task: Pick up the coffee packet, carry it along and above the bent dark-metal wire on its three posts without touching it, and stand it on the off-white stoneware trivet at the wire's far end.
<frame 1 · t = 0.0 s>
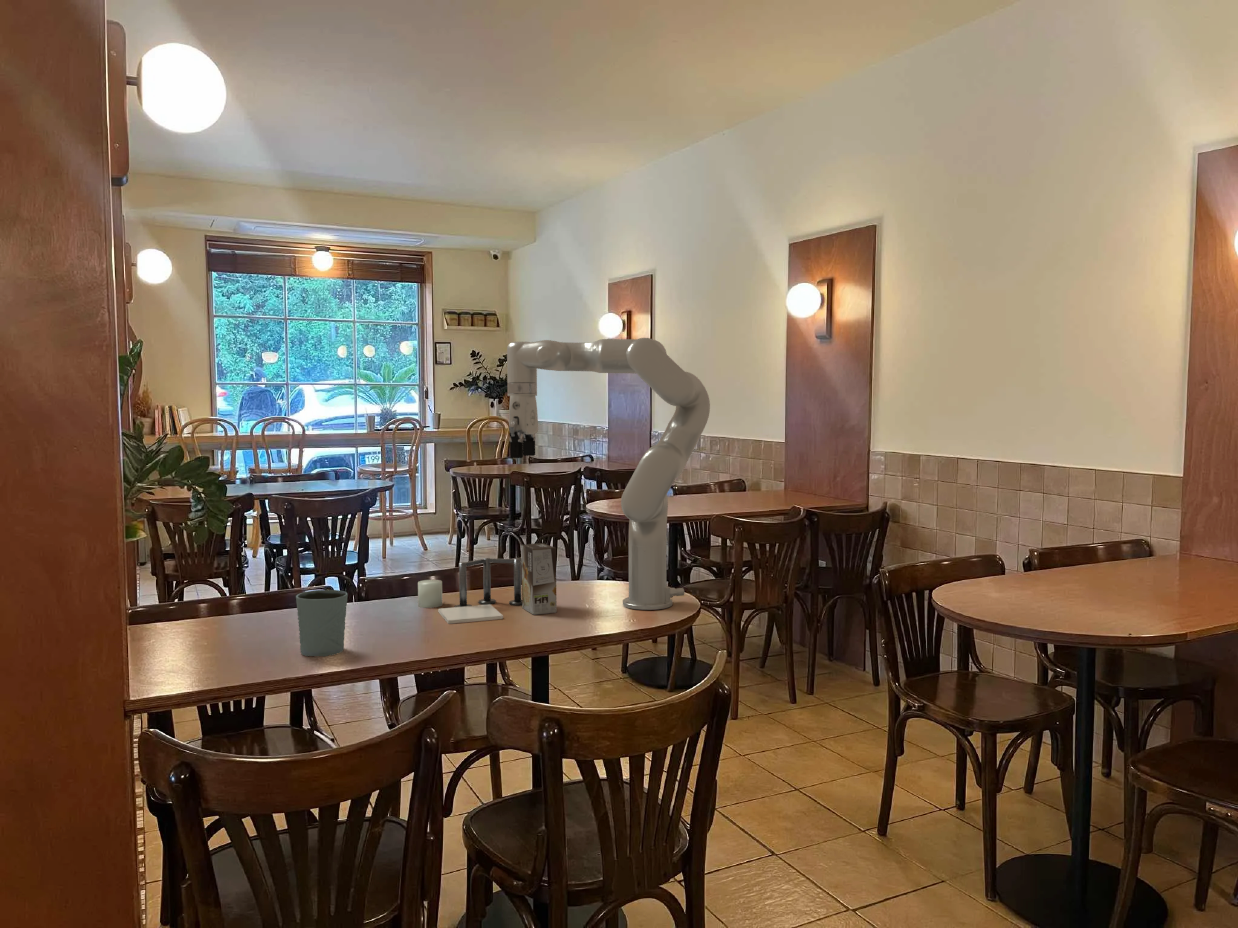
hand: (523, 456, 238), 37 cm above the table, tool pointing down, fingers open, 9 cm apart
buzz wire: (492, 607, 231), on the table
pale green pillar candle: (430, 605, 234), on the table
coffee box: (539, 611, 228), on the table
trivet: (470, 615, 223), on the table
green tapered pot: (323, 651, 192), on the table
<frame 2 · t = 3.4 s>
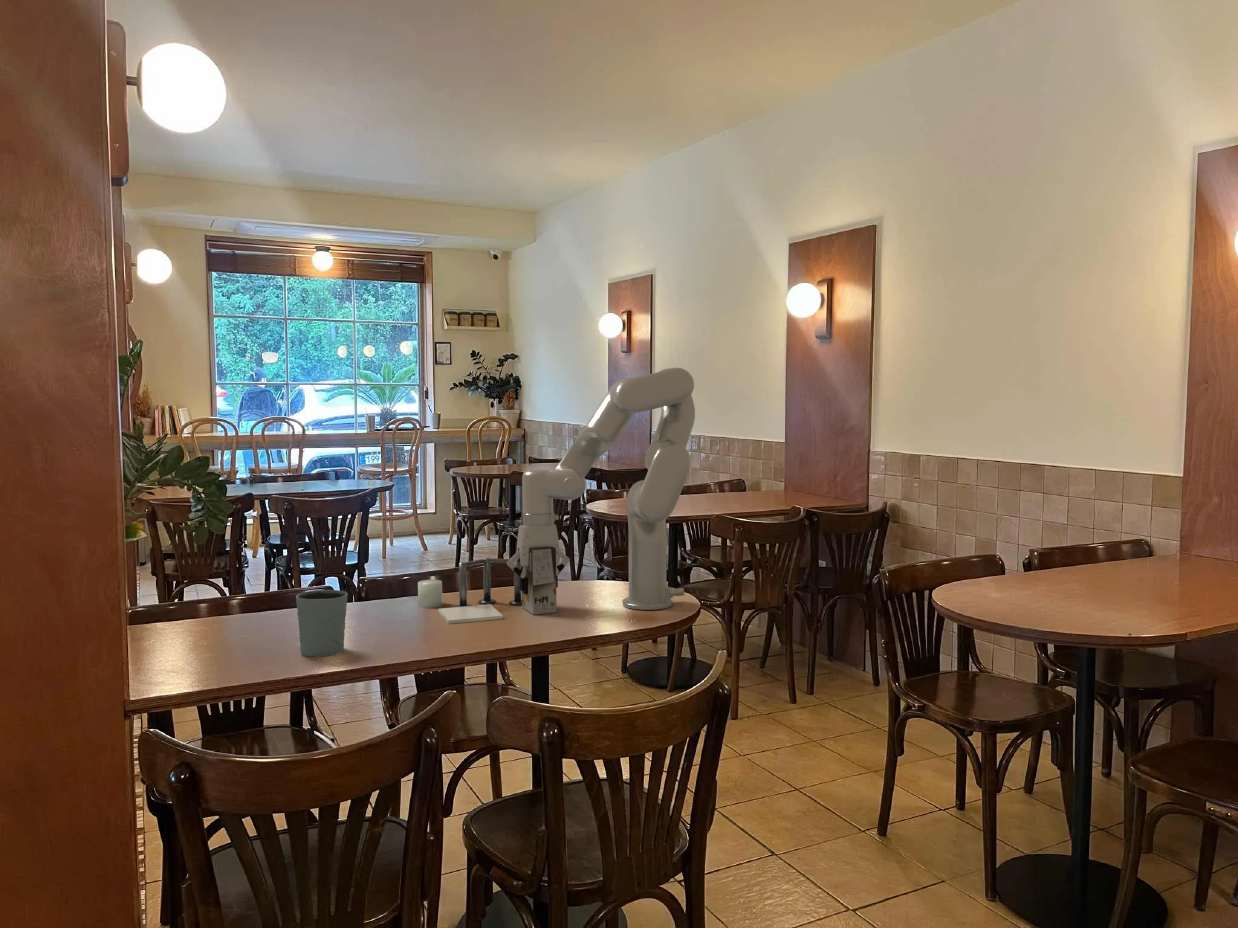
hand: (538, 591, 228), 5 cm above the table, tool pointing down, fingers closed on coffee box, 6 cm apart
coffee box: (539, 610, 228), on the table, touching gripper
everything else where it was.
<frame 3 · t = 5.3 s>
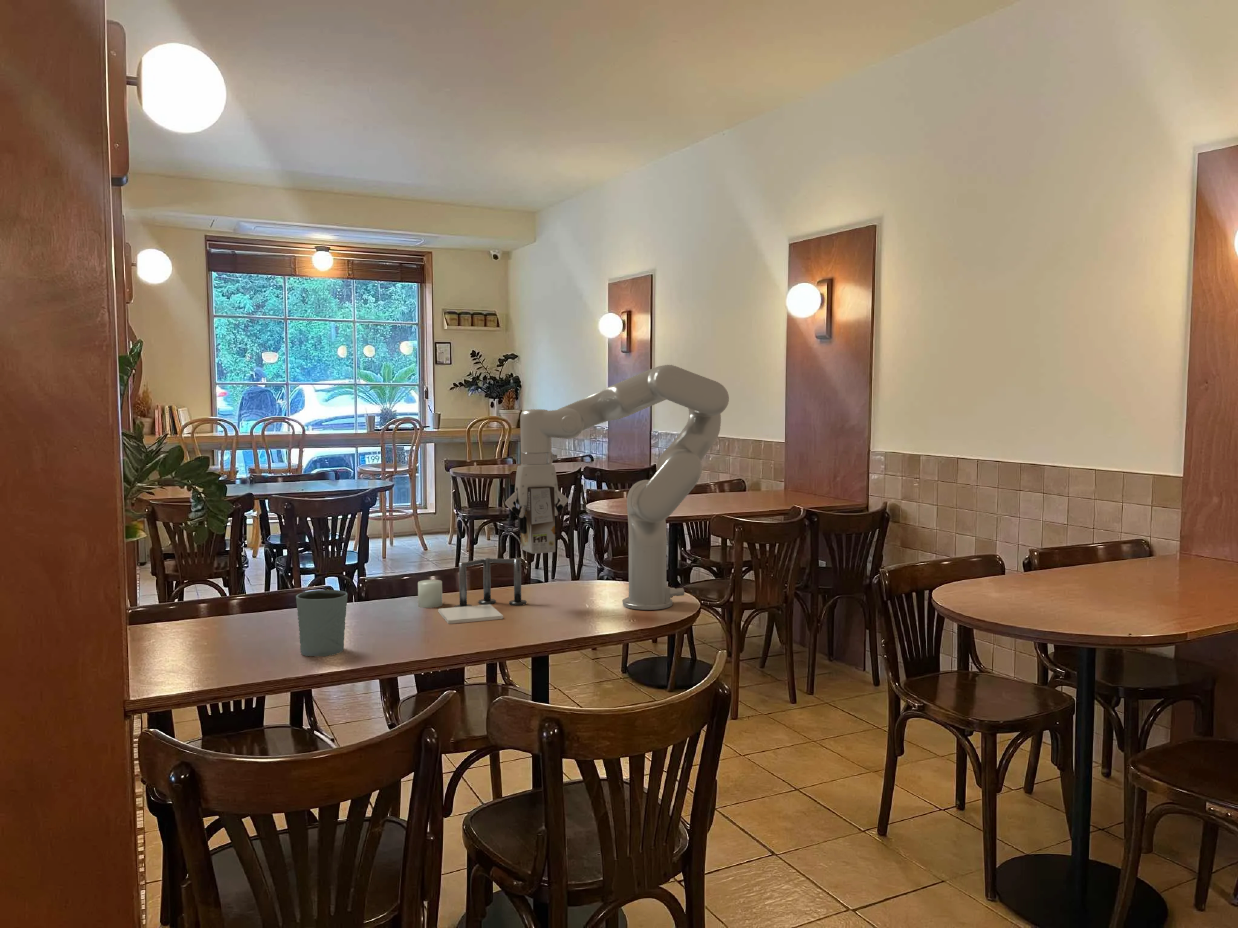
hand: (537, 531, 227), 20 cm above the table, tool pointing down, fingers closed on coffee box, 6 cm apart
coffee box: (537, 551, 227), point 15 cm above the table, touching gripper
everything else where it was.
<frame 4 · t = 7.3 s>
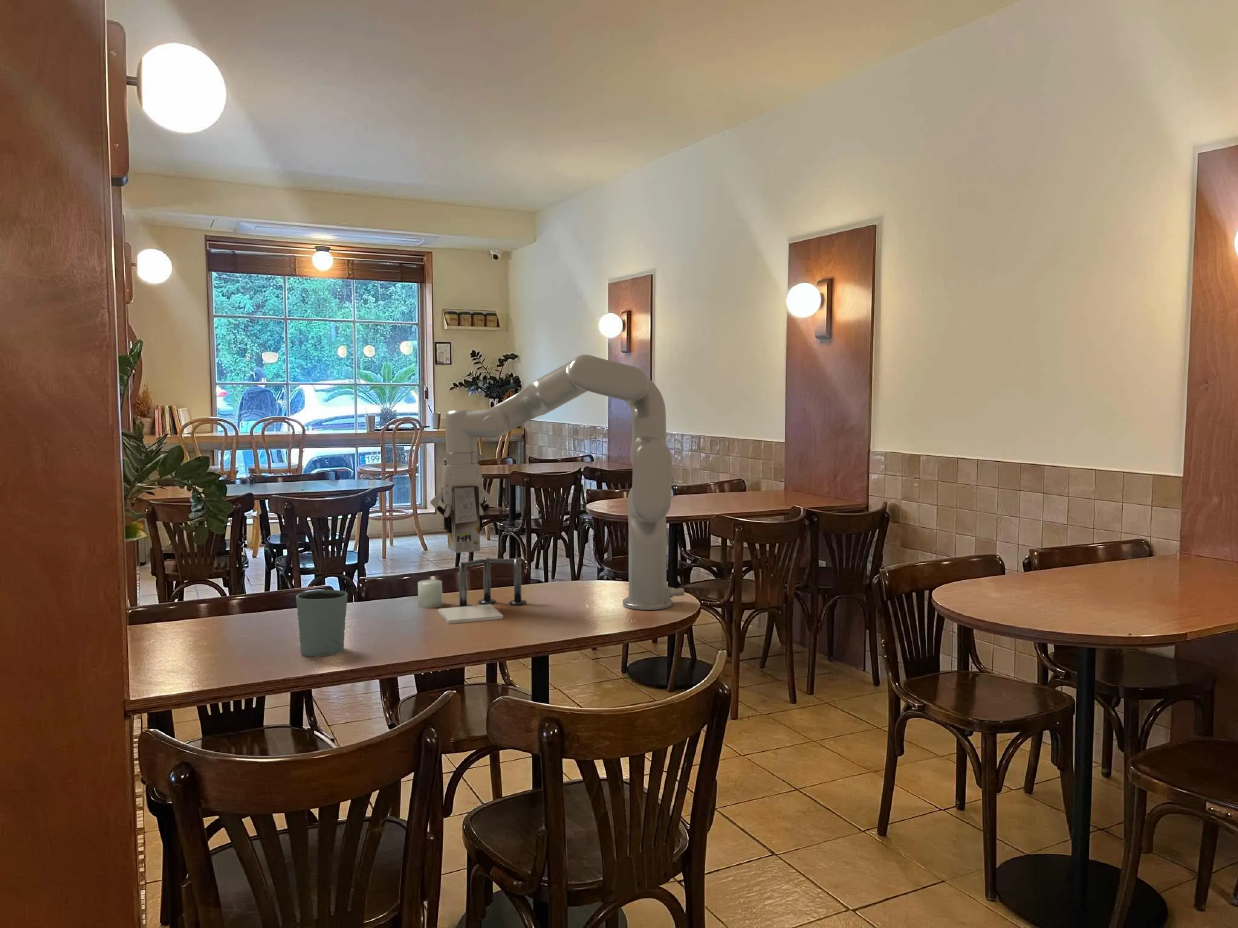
hand: (463, 531, 229), 20 cm above the table, tool pointing down, fingers closed on coffee box, 6 cm apart
coffee box: (463, 550, 229), point 15 cm above the table, touching gripper
everything else where it was.
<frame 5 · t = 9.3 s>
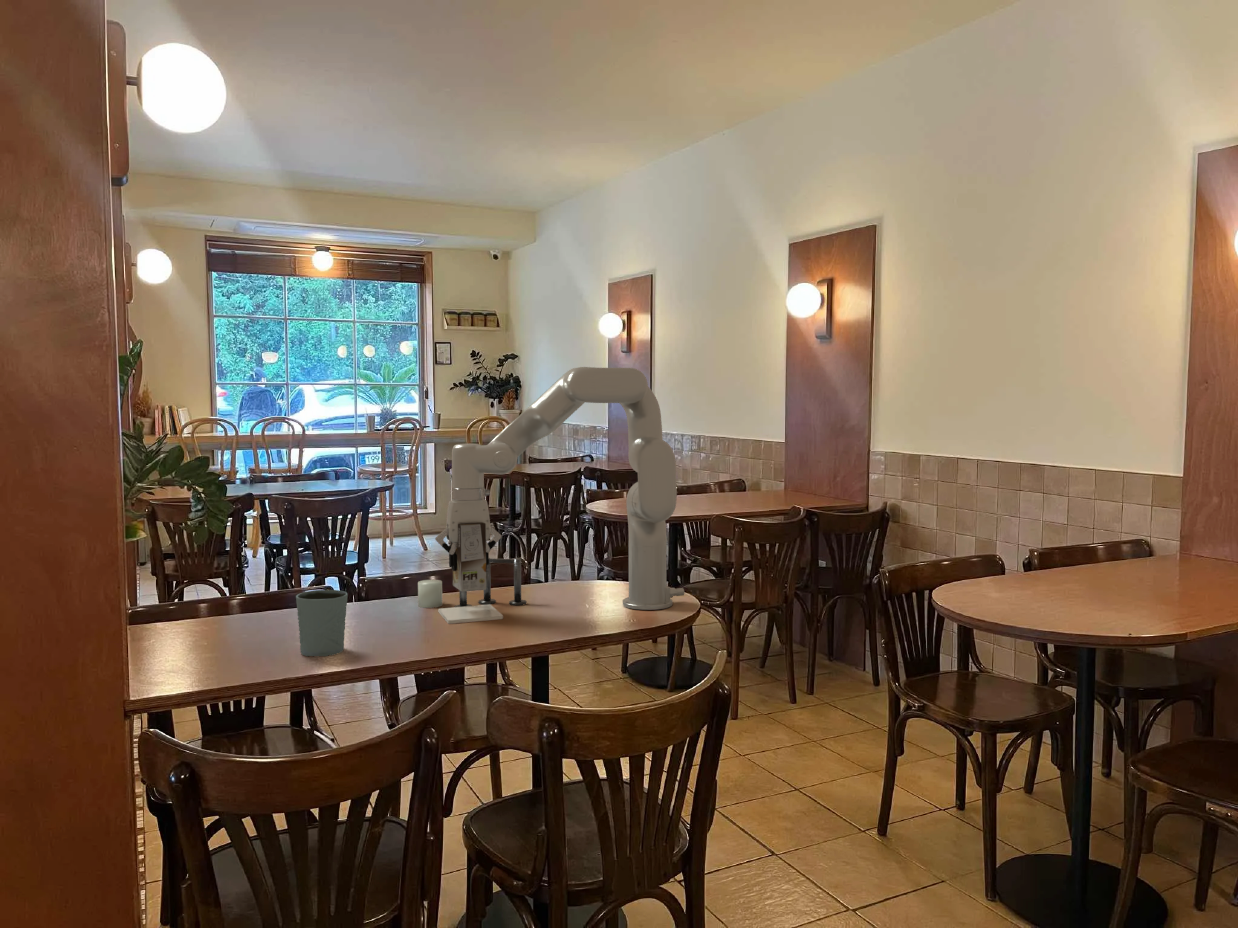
hand: (469, 568, 222), 11 cm above the table, tool pointing down, fingers closed on coffee box, 6 cm apart
coffee box: (469, 588, 222), point 7 cm above the table, touching gripper
everything else where it was.
when the fingers open (7 cm above the table, at t = 11.1 s): coffee box drops 1 cm, resting on trivet.
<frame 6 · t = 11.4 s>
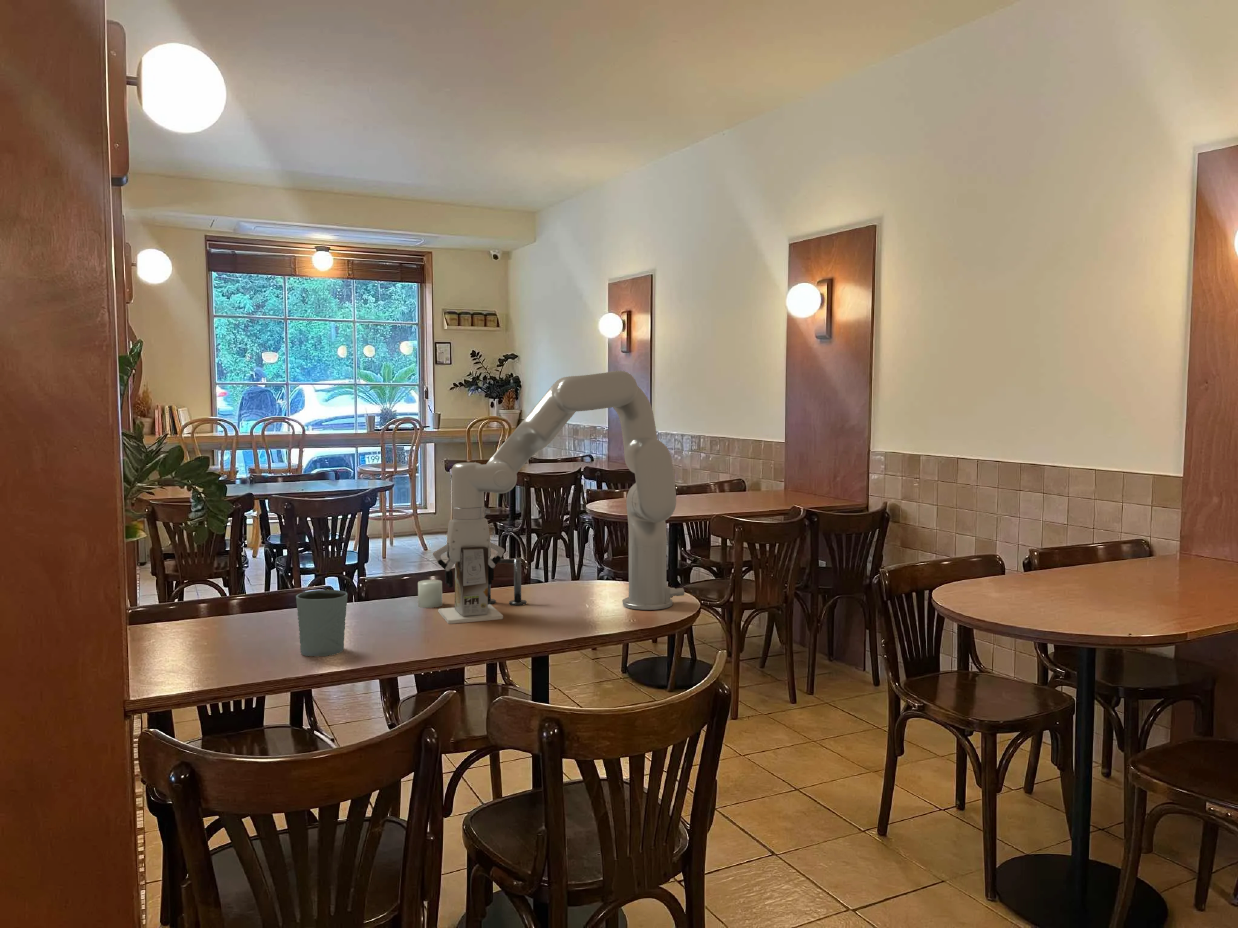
hand: (469, 584, 222), 7 cm above the table, tool pointing down, fingers open, 9 cm apart
coffee box: (470, 612, 223), point 1 cm above the table, touching trivet
everything else where it was.
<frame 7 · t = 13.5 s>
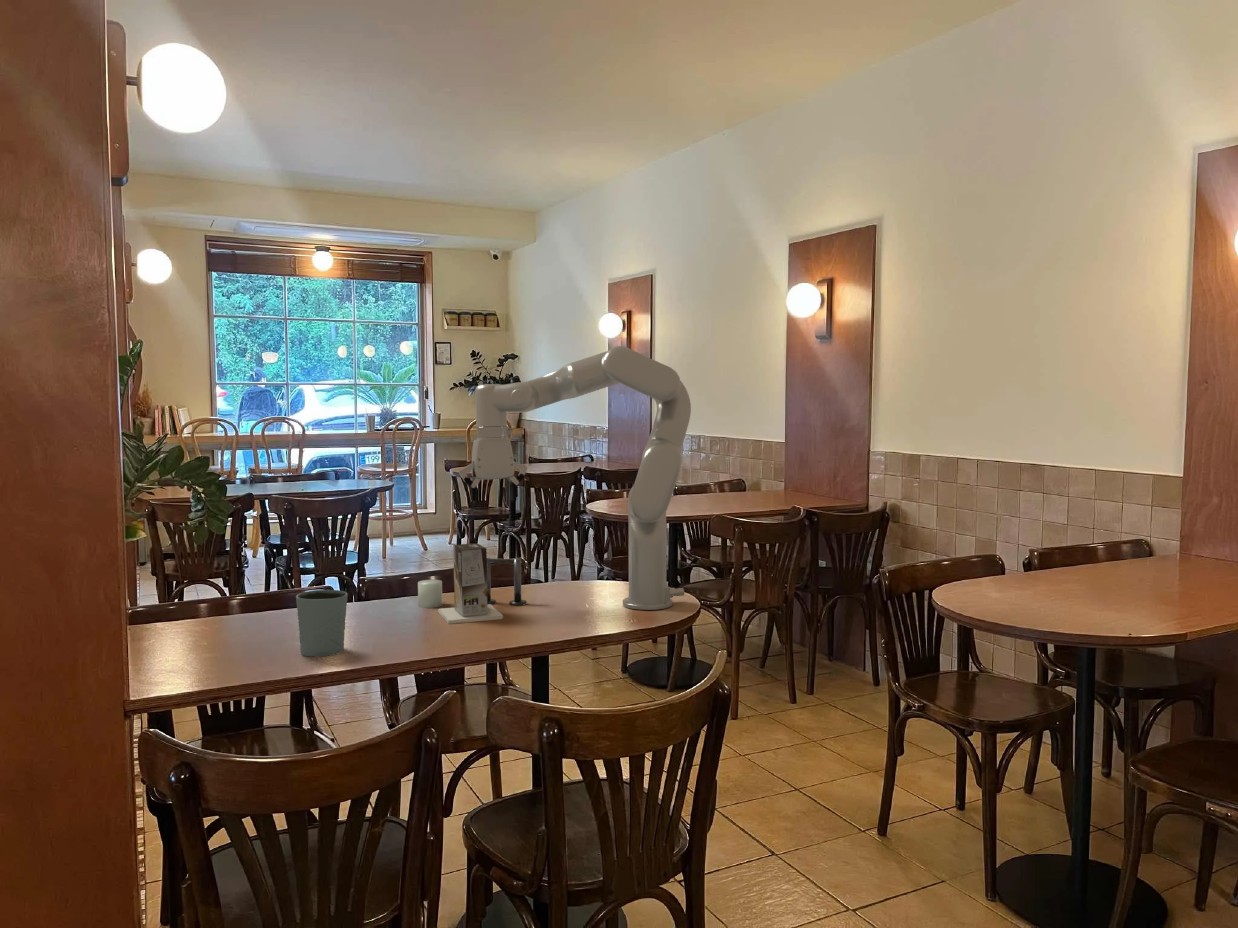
hand: (494, 501, 231), 26 cm above the table, tool pointing down, fingers open, 9 cm apart
nothing on the table moved.
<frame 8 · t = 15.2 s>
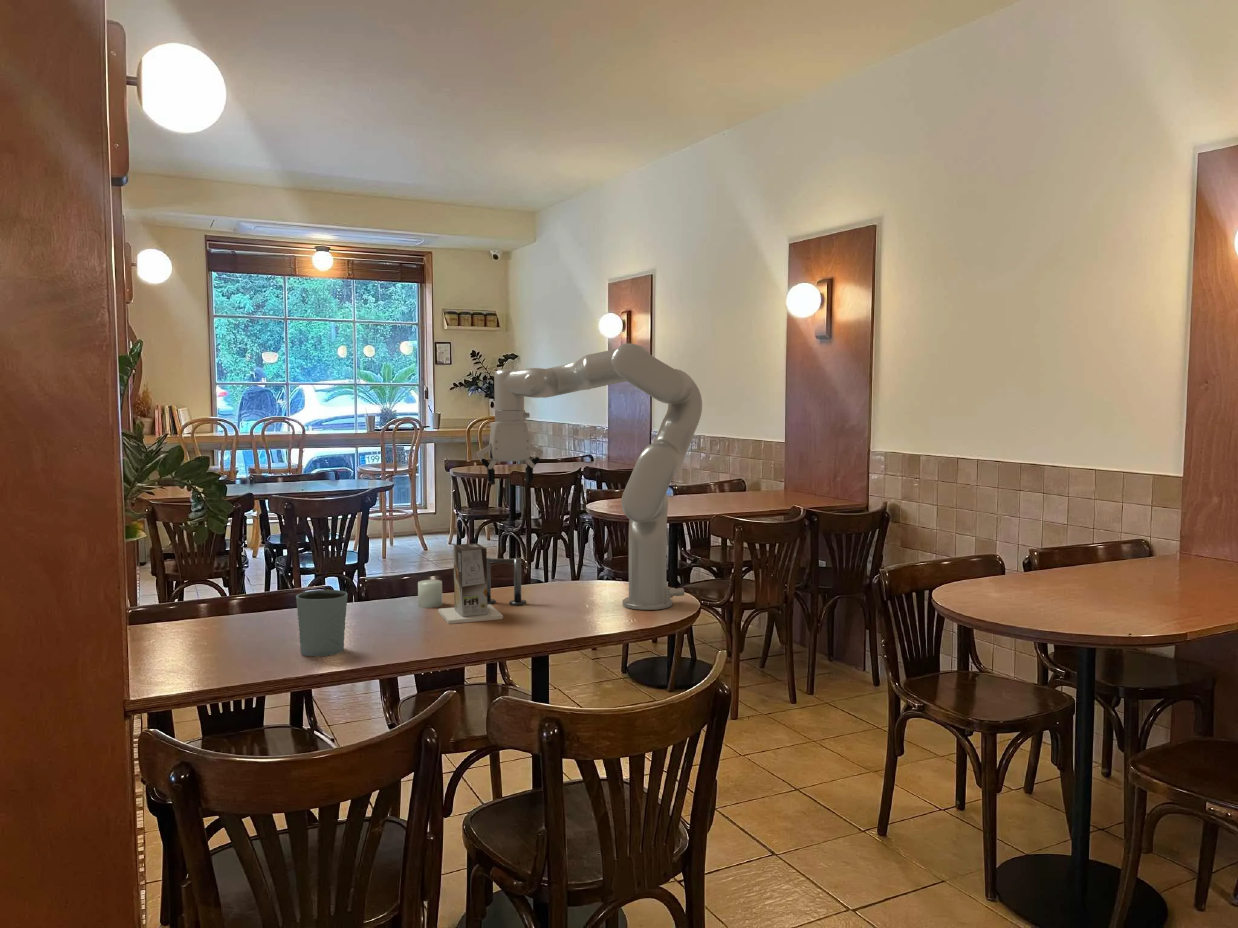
hand: (510, 483, 239), 30 cm above the table, tool pointing down, fingers open, 9 cm apart
nothing on the table moved.
at the end: coffee box inside the target area on the trivet (0.2 cm from its centre), point 0.6 cm above the trivet's base; coffee box tilted 0°; coffee box touching trivet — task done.
